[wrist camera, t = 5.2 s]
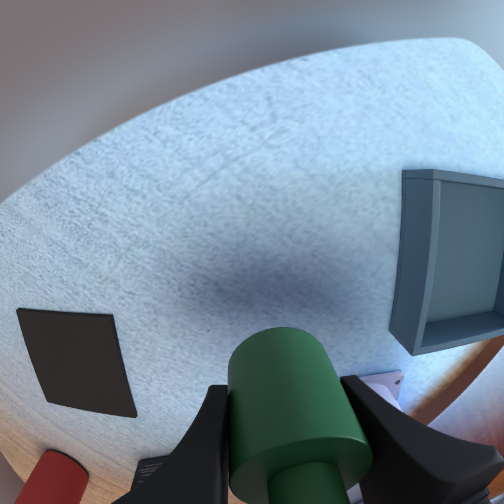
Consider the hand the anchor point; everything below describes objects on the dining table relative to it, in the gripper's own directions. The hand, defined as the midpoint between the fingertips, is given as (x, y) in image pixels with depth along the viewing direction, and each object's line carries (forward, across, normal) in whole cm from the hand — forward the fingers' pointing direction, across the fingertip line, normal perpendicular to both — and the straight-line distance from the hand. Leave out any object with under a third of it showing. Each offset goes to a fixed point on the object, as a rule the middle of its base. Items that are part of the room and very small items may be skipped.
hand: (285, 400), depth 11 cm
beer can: (+10, +24, +24) cm, 35 cm away
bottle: (+2, 0, 0) cm, 2 cm away
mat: (+10, +16, +7) cm, 20 cm away
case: (+10, -16, -3) cm, 19 cm away
